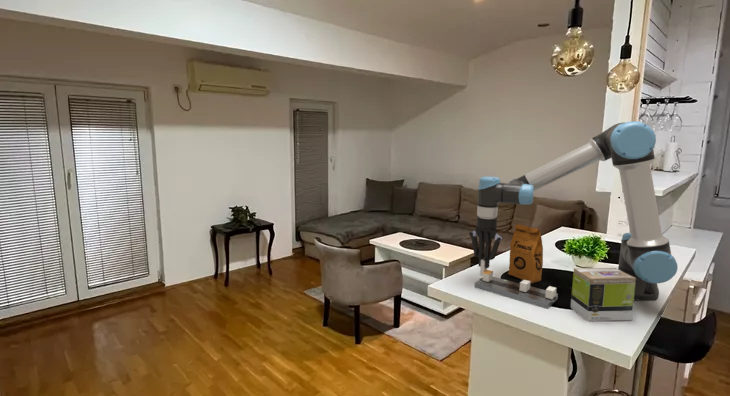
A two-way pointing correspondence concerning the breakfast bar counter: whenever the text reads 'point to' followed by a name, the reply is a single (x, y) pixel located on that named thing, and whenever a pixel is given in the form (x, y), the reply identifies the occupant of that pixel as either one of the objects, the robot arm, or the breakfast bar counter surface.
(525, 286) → the block
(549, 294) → the block
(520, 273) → the coffee package
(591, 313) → the tea box
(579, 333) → the breakfast bar counter surface
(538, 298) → the panel
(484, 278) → the block
